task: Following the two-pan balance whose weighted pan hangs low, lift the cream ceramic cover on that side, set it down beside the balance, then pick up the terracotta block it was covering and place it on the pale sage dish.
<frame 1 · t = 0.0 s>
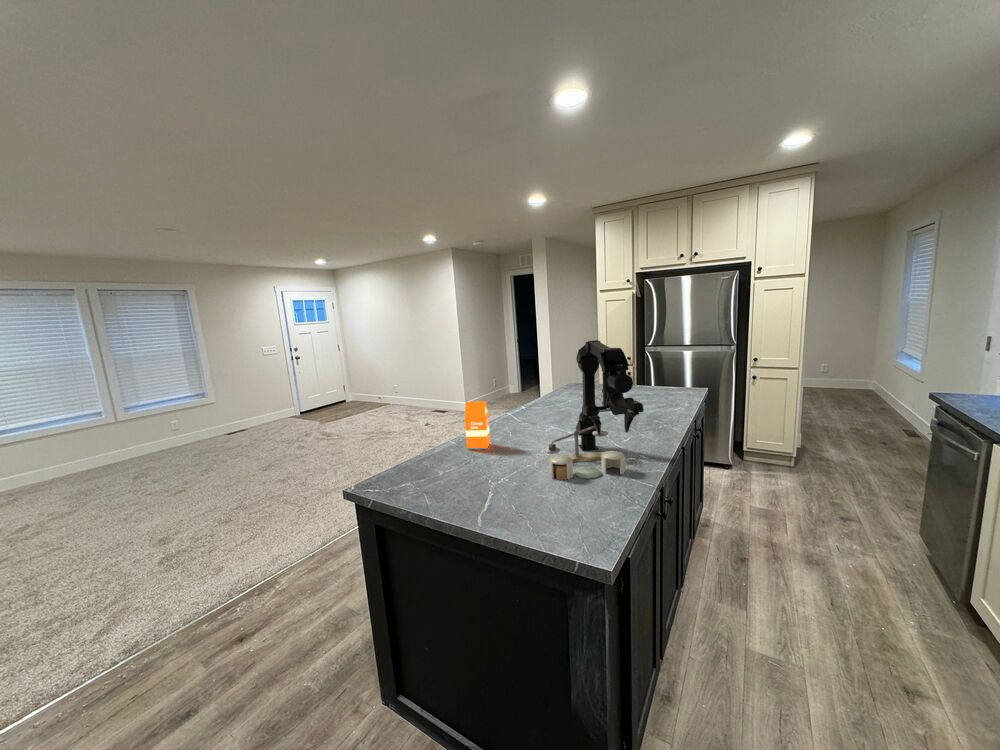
hand: (612, 433, 131), 15 cm above the countertop, tool pointing down, fingers open, 9 cm apart
balance: (577, 459, 150), on the countertop
cover b: (613, 471, 137), on the countertop
block: (561, 470, 136), in the cover a
orange juice: (479, 447, 171), on the countertop
dish: (587, 473, 137), on the countertop
cover a: (561, 476, 136), on the countertop
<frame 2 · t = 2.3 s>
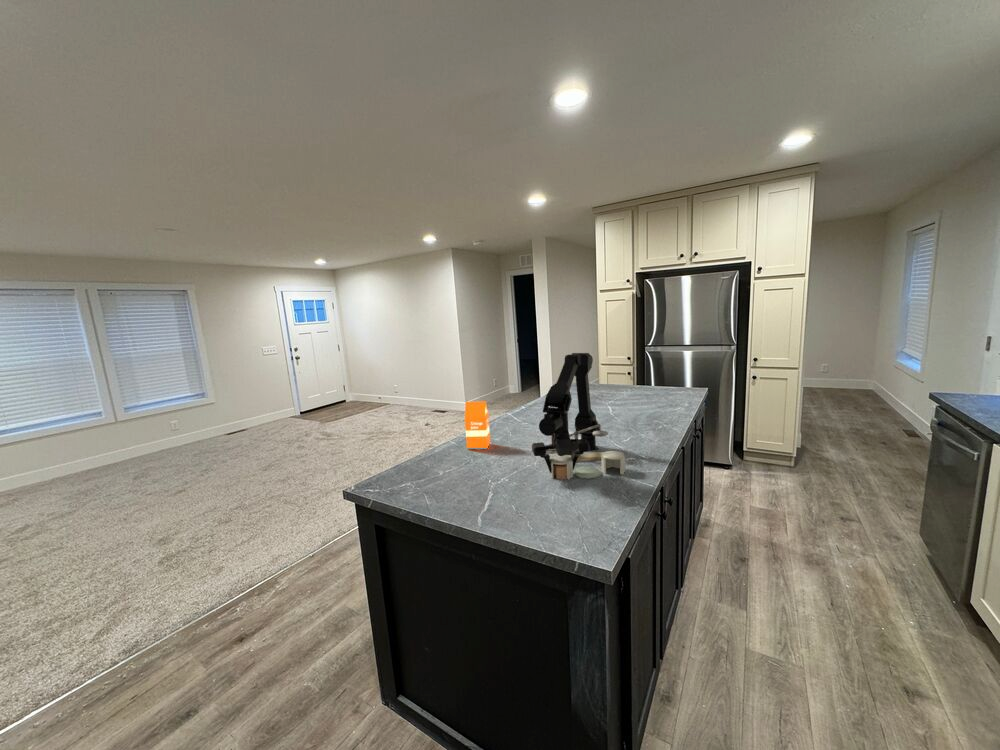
hand: (561, 471, 136), 2 cm above the countertop, tool pointing down, fingers closed on cover a, 7 cm apart
cover a: (561, 476, 136), on the countertop, touching gripper
everything else where it was.
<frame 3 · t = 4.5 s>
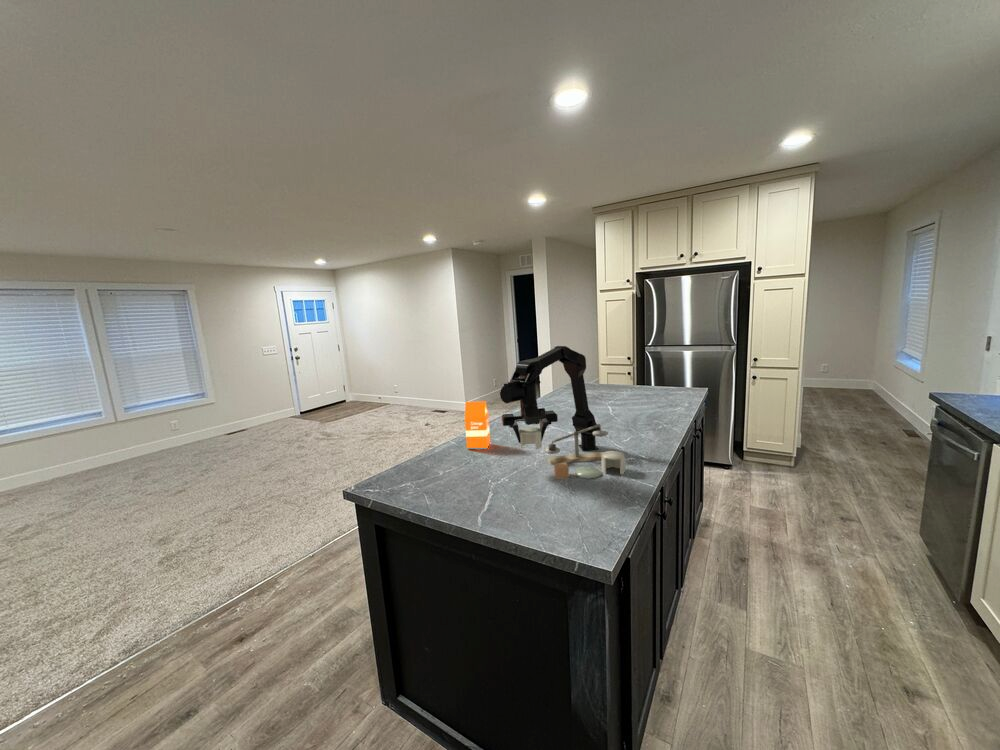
hand: (530, 442, 139), 11 cm above the countertop, tool pointing down, fingers closed on cover a, 7 cm apart
cover a: (530, 446, 139), point 10 cm above the countertop, touching gripper
everything else where it was.
when the fingers open (3 cm above the countertop, at t = 6.9 s): cover a drops 1 cm, on the countertop.
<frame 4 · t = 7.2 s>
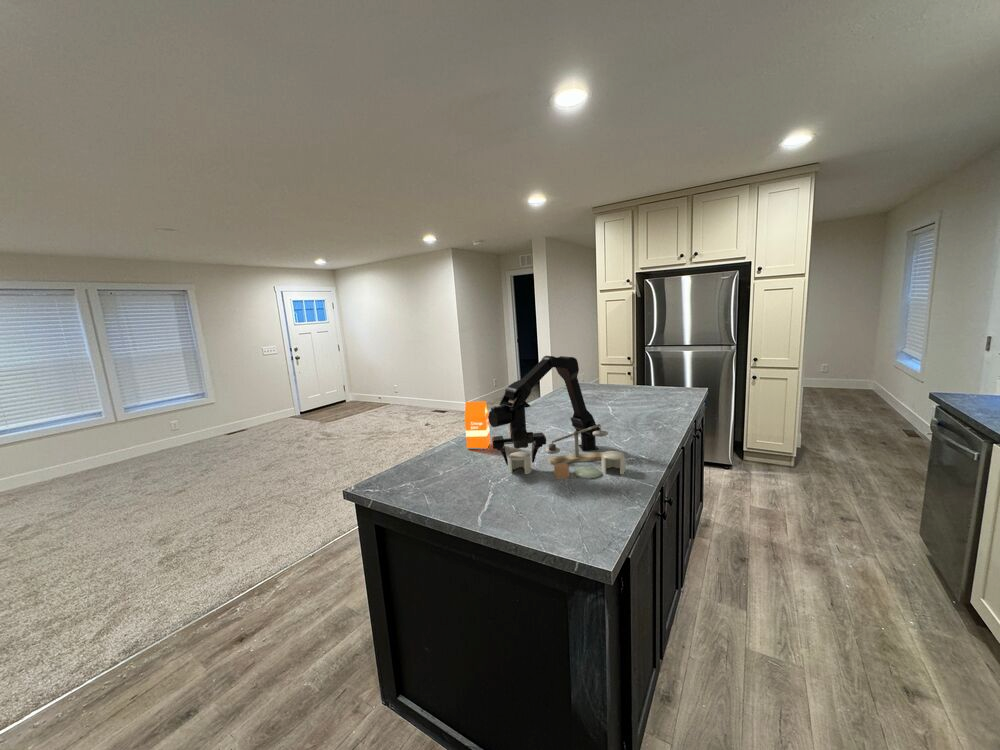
hand: (520, 463, 142), 3 cm above the countertop, tool pointing down, fingers open, 9 cm apart
cover a: (520, 471, 142), on the countertop
everything else where it was.
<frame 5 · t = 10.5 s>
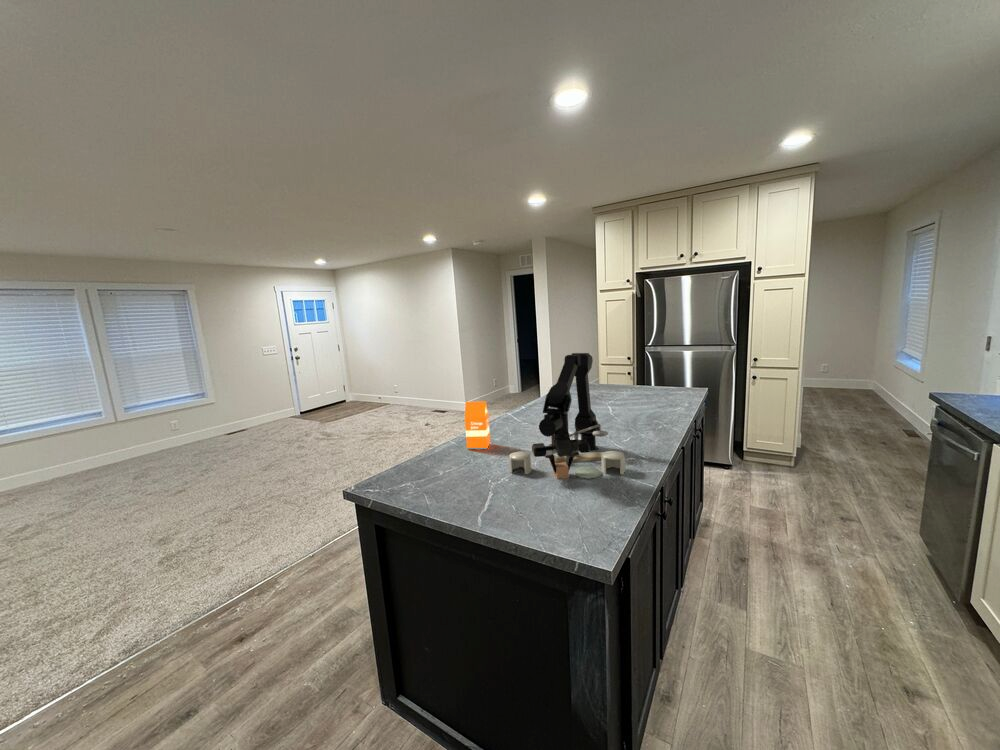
hand: (561, 472, 136), 1 cm above the countertop, tool pointing down, fingers closed on block, 4 cm apart
block: (561, 470, 136), on the countertop, touching gripper
everything else where it was.
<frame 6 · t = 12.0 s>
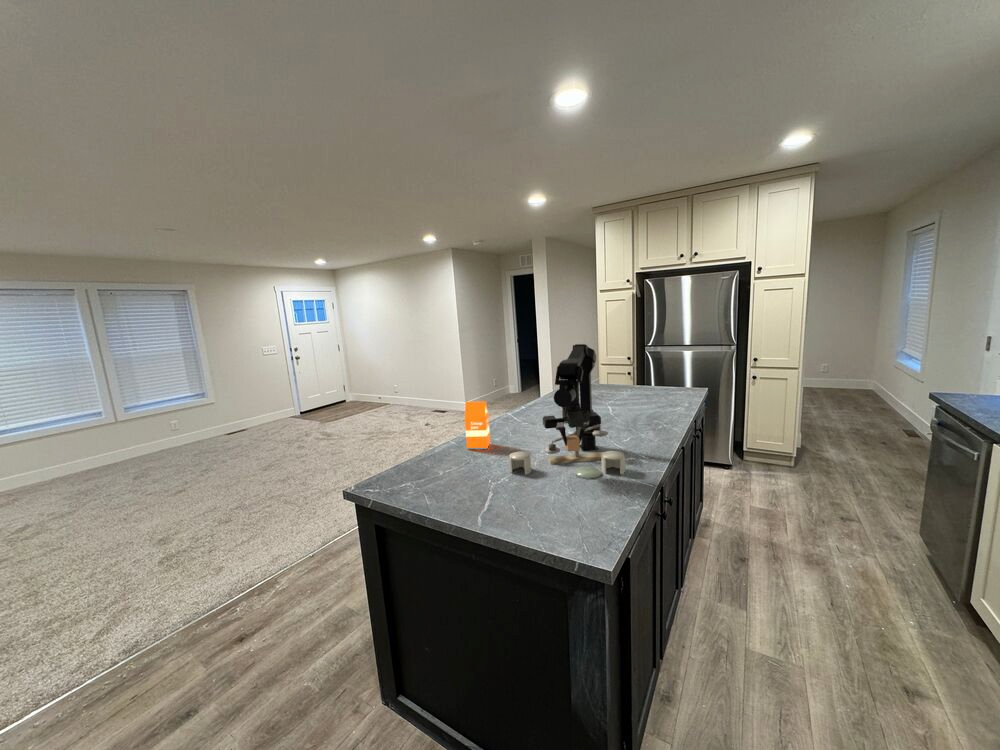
hand: (572, 444, 135), 11 cm above the countertop, tool pointing down, fingers closed on block, 4 cm apart
block: (572, 443, 135), point 11 cm above the countertop, touching gripper
everything else where it was.
when the fingers open (4 cm above the countertop, at t = 14.0 s): block drops 1 cm, resting on dish.
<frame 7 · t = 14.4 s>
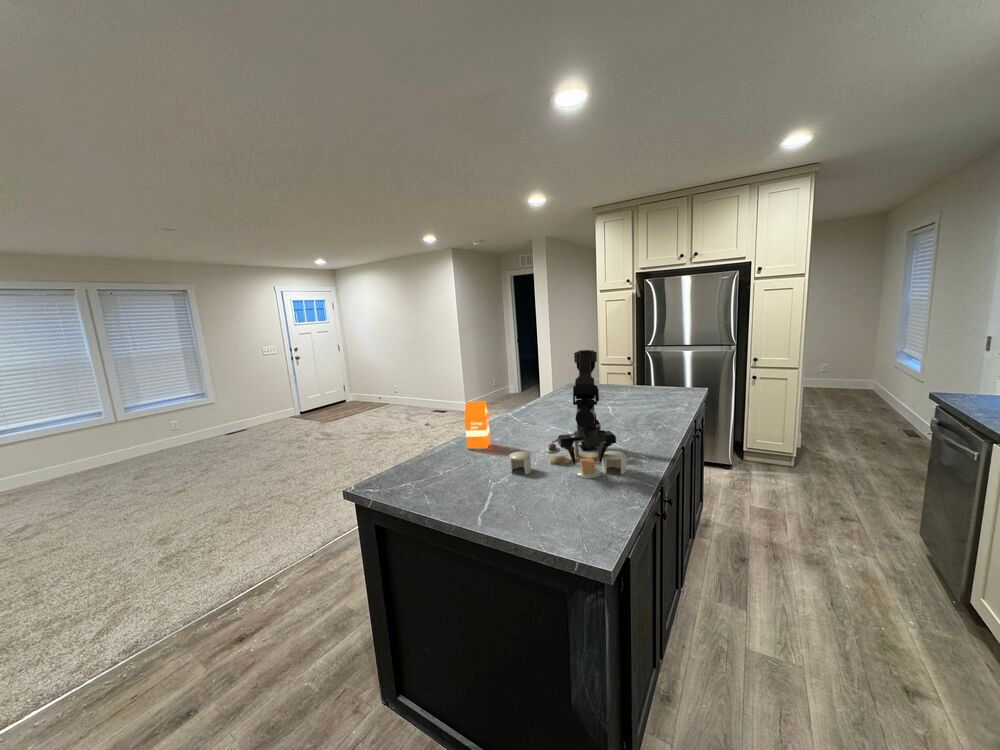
hand: (587, 463, 136), 4 cm above the countertop, tool pointing down, fingers open, 9 cm apart
cover b: (614, 471, 137), on the countertop, touching gripper
block: (587, 465, 136), on the dish, point 3 cm above the countertop
everything else where it was.
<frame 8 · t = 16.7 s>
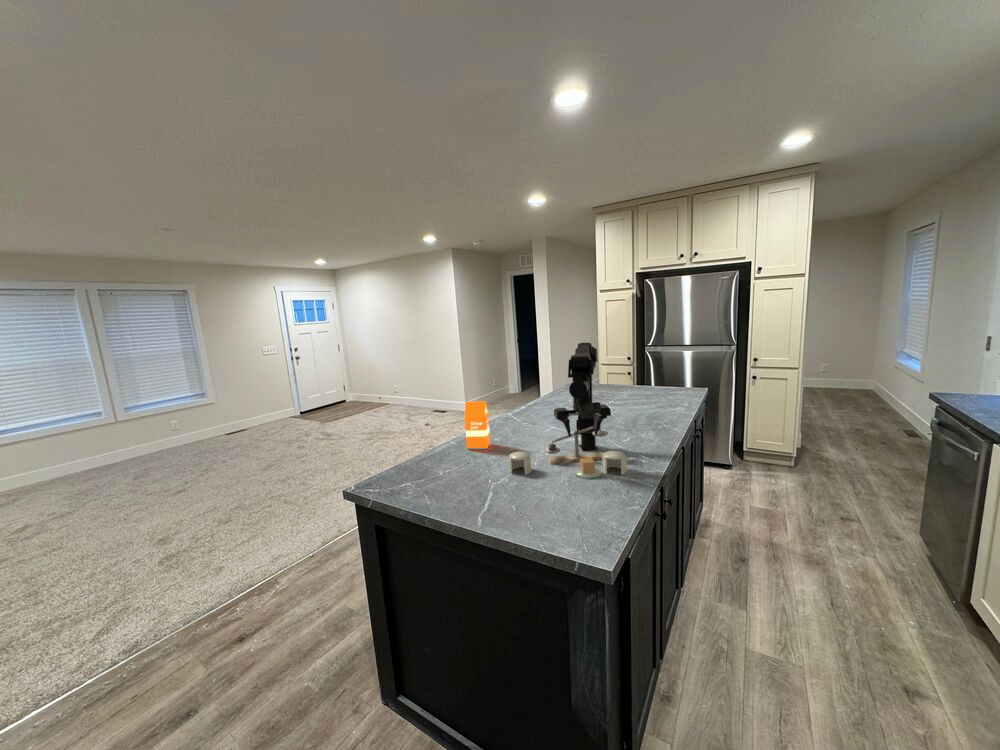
hand: (582, 436, 139), 12 cm above the countertop, tool pointing down, fingers open, 9 cm apart
cover b: (614, 471, 137), on the countertop
everything else where it was.
at the end: block 0.0 cm off-centre on the dish, point 2.8 cm above the dish's base; the gripper is holding nothing; cover a moved 15.1 cm from its start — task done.
